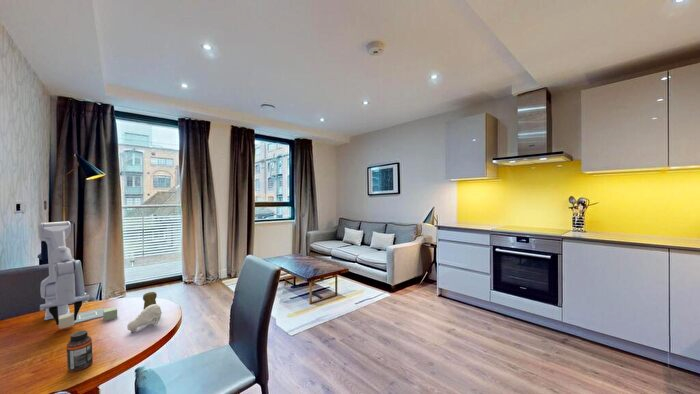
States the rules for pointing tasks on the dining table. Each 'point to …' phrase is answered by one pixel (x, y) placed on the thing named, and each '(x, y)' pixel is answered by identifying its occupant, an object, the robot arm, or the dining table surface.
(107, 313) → the sage block
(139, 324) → the white lumpy piece
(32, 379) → the dining table surface
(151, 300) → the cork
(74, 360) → the supplement bottle
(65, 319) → the cream block
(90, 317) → the plate
